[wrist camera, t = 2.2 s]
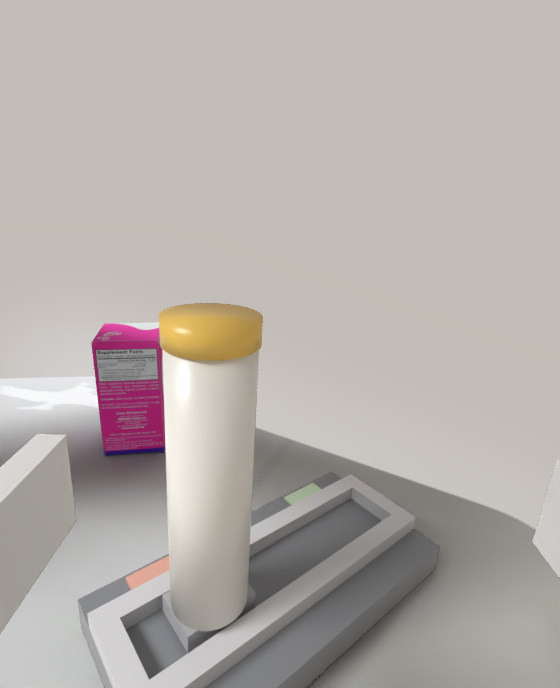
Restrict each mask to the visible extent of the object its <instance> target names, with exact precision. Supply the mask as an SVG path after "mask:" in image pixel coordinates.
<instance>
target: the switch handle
mask: <svg viewBox="0 0 560 688" xmlns="http://www.w3.org/2000/svg"><path fill="white" fill-rule="evenodd" d="M262 323H263V316H262V315H261V314H260V313H259V312H257V311H255V310H253V309H250V308H246V307H242V306H237V305H230V304H218V303H217V304H216V303H196V304H185V305H179V306H174V307H170V308H167V309H165V310H163V311H162V312H160V313H159V340H160V347H161V348H162V353H163V385H164V417H165V448H166V480H167V512H168V544H169V575H170V591H168V592H166V593H164V594H163V595H162V602H163V612H164V613H165V615H166V617H167V619H168V620H169V622H170V624H171V625H172V627H173V629H174V631H175V632H176V634H177V636H178V637H179V639H180V641H181V642H182V644H183V646H184V648H185V649H186V651H187V653H189V652H191V651H192V650H194V649H195V648H197V647H198V646H200V645H201V644H202V643H204V642H205V641H207V640H208V639H210V638H211V637H213V636H214V635H216V634H217V633H219V632H220V631H222V630H223V629H224V628H226V627H227V626H229V625H230V624H232V623H233V622H235V621H236V620H238V619H239V618H241V617H242V616H244V615H245V614H246V613H248V612H249V611H251V610H252V609H254V608H255V600H256V592H255V591H254V590H253V588H252V587H251V586H250V585H249V584H248V574H249V552H250V530H251V509H252V487H253V465H254V444H255V421H256V400H257V378H258V357H259V349H260V348H261V343H262Z"/></svg>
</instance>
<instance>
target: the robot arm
mask: <svg viewBox="0 0 560 688" xmlns="http://www.w3.org/2000/svg"><path fill="white" fill-rule="evenodd" d="M75 522H76V513H75V504H74V496H73V487H72V479H71V470H70V462H69V453H68V445H67V436H66V435H55V434H36V435H35V436H34V437H33V438H32V439H31V440H30V441H29V442H28V443H26V444H25V445H24V446H23V447H22V448H21V449H20V450H19V451H18V452H16V453H15V454H14V455H13V456H12V457H11V458H10V459H9V460H8V461H7V462H5V463H4V464H3V465H2V466H1V467H0V634H1V632H2V631H3V629H4V628H5V626H6V625H7V623H8V622H9V620H10V619H11V617H12V616H13V614H14V613H15V611H16V610H17V608H18V607H19V605H20V604H21V602H22V601H23V599H24V598H25V596H26V595H27V593H28V592H29V590H30V589H31V587H32V586H33V584H34V583H35V581H36V580H37V578H38V577H39V575H40V574H41V573H42V571H43V570H44V568H45V567H46V565H47V564H48V562H49V561H50V559H51V558H52V556H53V555H54V553H55V552H56V550H57V549H58V547H59V546H60V544H61V543H62V541H63V540H64V538H65V537H66V535H67V534H68V532H69V531H70V529H71V528H72V526H73V525H74V523H75ZM533 543H534V545H535V546H536V547H537V549H538V550H539V551H540V553H541V554H542V555H543V557H544V558H545V559H546V561H547V562H548V563H549V565H550V566H551V567H552V569H553V570H554V571H555V572H556V574H557V575H558V576H559V578H560V459H557V460H556V463H555V466H554V470H553V473H552V477H551V480H550V483H549V487H548V491H547V494H546V497H545V501H544V504H543V507H542V511H541V514H540V518H539V521H538V525H537V528H536V532H535V535H534V538H533Z"/></svg>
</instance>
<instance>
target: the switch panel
mask: <svg viewBox="0 0 560 688" xmlns="http://www.w3.org/2000/svg"><path fill="white" fill-rule="evenodd" d="M415 521H416V517H415V516H413V515H412V514H410V513H409V512H407V511H406V510H404V509H403V508H401V507H400V506H398V505H397V504H395V503H394V502H392V501H391V500H389V499H388V498H386V497H385V496H383V495H382V494H380V493H379V492H377V491H376V490H374V489H373V488H371V487H370V486H368V485H367V484H365V483H364V482H362V481H361V480H359V479H358V478H356V477H355V476H353V475H352V474H350V475H348V476H346V477H344V478H342V479H341V478H340V477H338V476H337V475H335V474H334V473H332V472H331V473H329V474H327V475H325V476H323V477H321V478H319V479H317V480H315V481H313V482H311V483H309V484H307V485H305V486H303V487H301V488H299V489H297V490H295V491H293V492H291V493H289V494H287V495H285V496H283V497H281V498H279V499H277V500H275V501H273V502H271V503H269V504H267V505H265V506H263V507H261V508H259V509H257V510H255V511H253V512H251V530H250V552H249V574H248V584H249V585H250V586H251V587H252V588H253V590H254V591H255V592H256V600H255V608H254V609H252V610H251V611H249V612H248V613H246V614H245V615H244V616H242V617H241V618H239V619H238V620H236V621H235V622H233V623H232V624H230V625H229V626H227V627H226V628H224V629H223V630H222V631H220V632H219V633H217V634H216V635H214V636H213V637H211V638H210V639H208V640H207V641H205V642H204V643H202V644H201V645H200V646H198V647H197V648H195V649H194V650H192V651H191V652H189V653H187V651H186V649H185V648H184V646H183V644H182V642H181V641H180V639H179V637H178V636H177V634H176V632H175V631H174V629H173V627H172V625H171V624H170V622H169V620H168V619H167V617H166V615H165V613H164V612H163V602H162V595H163V594H164V593H166V592H168V591H170V575H169V554H168V555H166V556H164V557H162V558H160V559H158V560H156V561H154V562H152V563H150V564H148V565H146V566H144V567H142V568H140V569H138V570H136V571H134V572H132V573H130V574H128V575H126V576H124V577H122V578H120V579H118V580H116V581H114V582H112V583H110V584H108V585H106V586H104V587H102V588H100V589H98V590H96V591H94V592H92V593H90V594H88V595H86V596H84V597H82V598H80V599H78V605H79V613H80V621H81V627H82V630H83V633H84V635H85V638H86V641H87V643H88V646H89V648H90V651H91V654H92V656H93V659H94V662H95V664H96V667H97V670H98V672H99V675H100V677H101V680H102V683H103V685H104V688H306V687H307V686H308V685H309V684H310V683H312V682H313V681H314V680H315V679H316V678H317V677H318V676H319V675H320V674H321V673H322V672H324V671H325V670H326V669H327V668H328V667H329V666H330V665H331V664H332V663H333V662H334V661H336V660H337V659H338V658H339V657H340V656H341V655H342V654H343V653H344V652H345V651H346V650H348V649H349V648H350V647H351V646H352V645H353V644H354V643H355V642H356V641H357V640H358V639H360V638H361V637H362V636H363V635H364V634H365V633H366V632H367V631H368V630H369V629H370V628H372V627H373V626H374V625H375V624H376V623H377V622H378V621H379V620H380V619H381V618H382V617H384V616H385V615H386V614H387V613H388V612H389V611H390V610H391V609H392V608H393V607H395V606H396V605H397V604H398V603H399V602H400V601H401V600H402V599H403V598H404V597H405V596H407V595H408V594H409V593H410V592H411V591H412V590H413V589H414V588H415V587H416V586H417V585H419V584H420V583H421V582H422V581H423V580H424V579H425V578H426V577H427V576H428V575H429V574H431V573H432V572H433V571H434V570H435V565H436V561H437V557H438V552H439V548H440V547H439V546H438V545H436V544H435V543H434V542H432V541H431V540H429V539H428V538H426V537H425V536H423V535H422V534H420V533H419V532H418V531H416V530H415V529H414V526H415Z"/></svg>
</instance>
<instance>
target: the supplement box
mask: <svg viewBox="0 0 560 688" xmlns="http://www.w3.org/2000/svg"><path fill="white" fill-rule="evenodd" d="M92 351H93V359H94V367H95V368H94V369H95V377H96V386H97V395H98V404H99V412H100V422H101V431H102V439H103V447H104V455H122V454H138V453H160V452H166V448H165V417H164V385H163V353H162V348H161V347H160V340H159V322H153V323H105V324H104V325H103V327H102V328H101V329H100V331H99V333H98V334H97V335H96V337H95V338H94V340H93V341H92Z"/></svg>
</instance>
